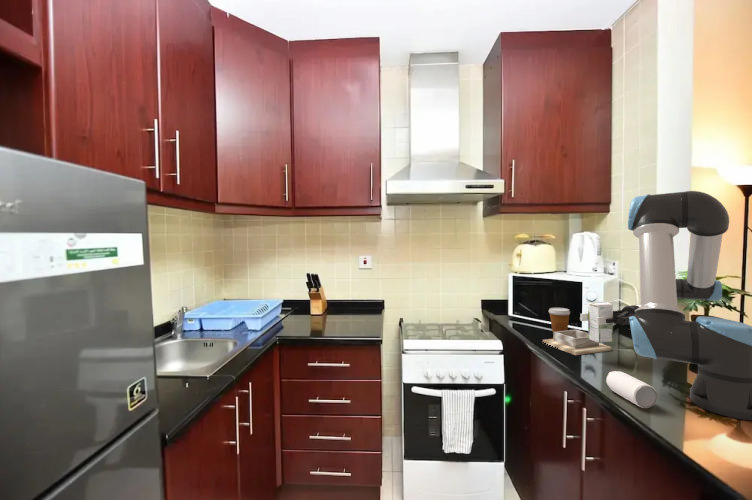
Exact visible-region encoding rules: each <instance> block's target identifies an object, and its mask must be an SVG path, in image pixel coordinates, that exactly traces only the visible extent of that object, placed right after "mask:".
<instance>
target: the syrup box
mask: <svg viewBox="0 0 752 500" xmlns="http://www.w3.org/2000/svg"><path fill="white" fill-rule="evenodd" d="M613 306H614V305H613V304H612V303H611V302H607V301H588V302H587V313H588V321H587V322H588V323H587V328H588V329H587V333H588V339H590V340H593V341H595V342H598V343H600V344H604V343H613V342H614V323H613V324H605V325H597V317H606V316H613V311H614V307H613Z"/></svg>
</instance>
